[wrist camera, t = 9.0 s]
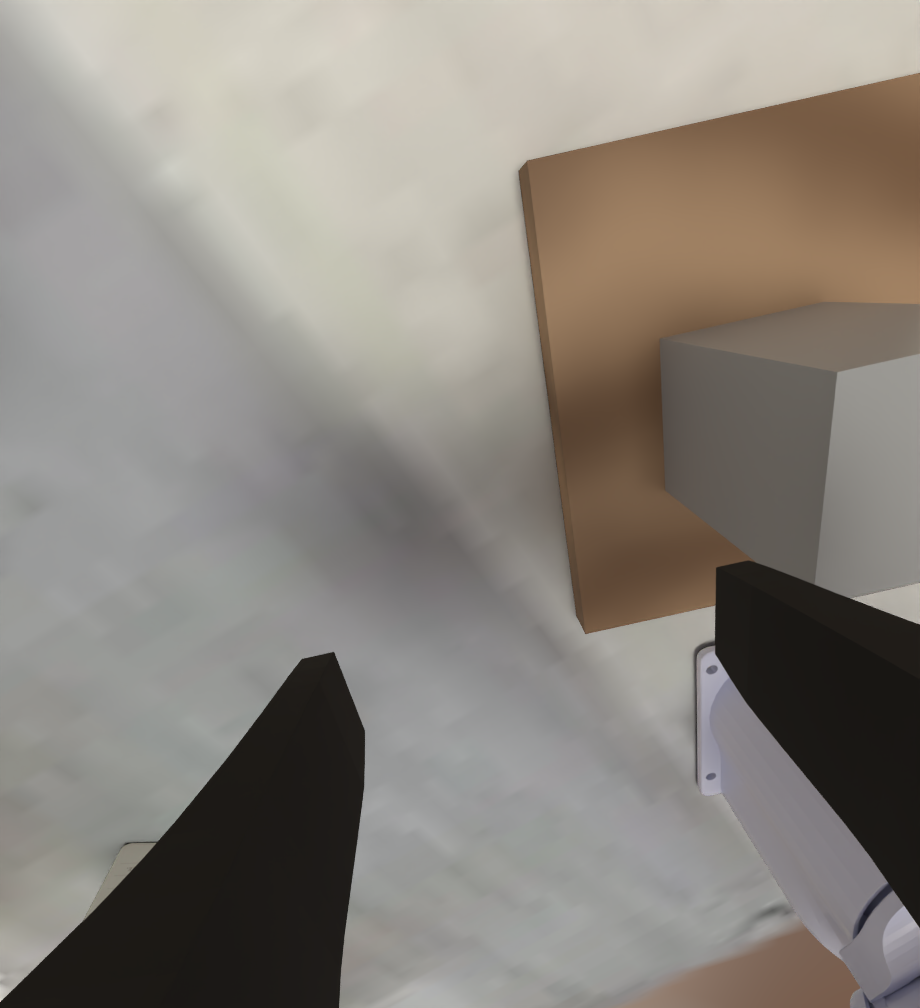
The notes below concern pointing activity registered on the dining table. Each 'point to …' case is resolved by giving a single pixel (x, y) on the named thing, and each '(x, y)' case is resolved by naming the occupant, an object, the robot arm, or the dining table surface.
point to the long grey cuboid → (803, 439)
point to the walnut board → (697, 301)
